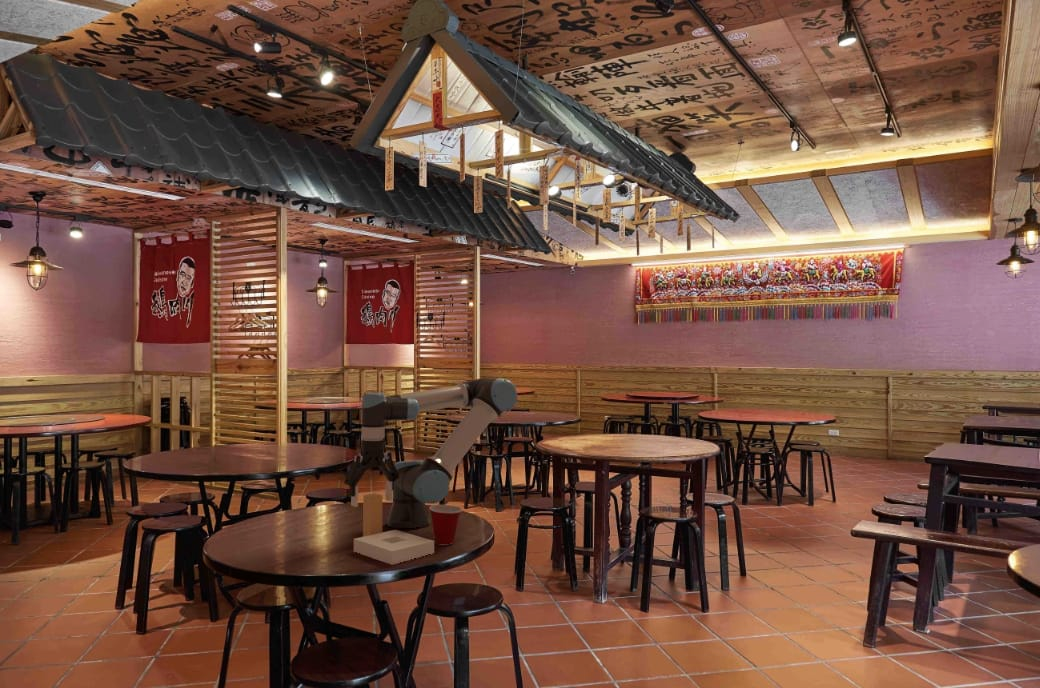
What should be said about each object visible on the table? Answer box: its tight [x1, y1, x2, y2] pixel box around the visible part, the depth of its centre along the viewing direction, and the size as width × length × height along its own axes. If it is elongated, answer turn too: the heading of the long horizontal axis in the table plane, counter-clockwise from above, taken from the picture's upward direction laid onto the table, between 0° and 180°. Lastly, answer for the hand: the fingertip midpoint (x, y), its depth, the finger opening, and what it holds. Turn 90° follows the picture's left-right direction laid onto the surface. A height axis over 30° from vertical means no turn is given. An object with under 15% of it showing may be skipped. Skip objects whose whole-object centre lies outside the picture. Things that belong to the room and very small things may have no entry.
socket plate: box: [353, 529, 435, 566], centre depth 222 cm, size 16×20×4 cm
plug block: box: [362, 492, 383, 537], centre depth 236 cm, size 4×4×15 cm
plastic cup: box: [428, 504, 463, 545], centre depth 232 cm, size 11×11×12 cm
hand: (371, 503), depth 236 cm, fingers open, 13 cm apart
